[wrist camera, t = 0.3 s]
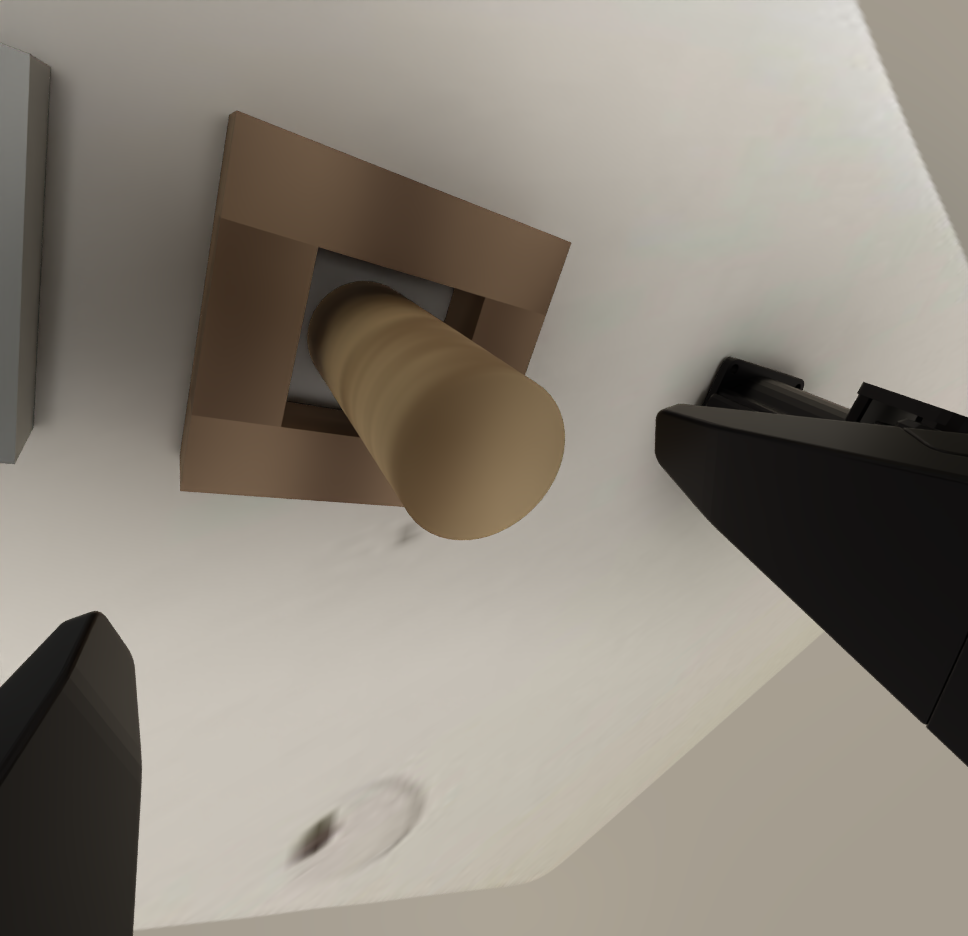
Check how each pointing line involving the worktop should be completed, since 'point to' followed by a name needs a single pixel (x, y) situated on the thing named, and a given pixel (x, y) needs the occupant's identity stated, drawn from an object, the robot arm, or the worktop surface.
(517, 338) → the square wooden frame
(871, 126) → the worktop surface
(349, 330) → the dowel
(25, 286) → the tray
